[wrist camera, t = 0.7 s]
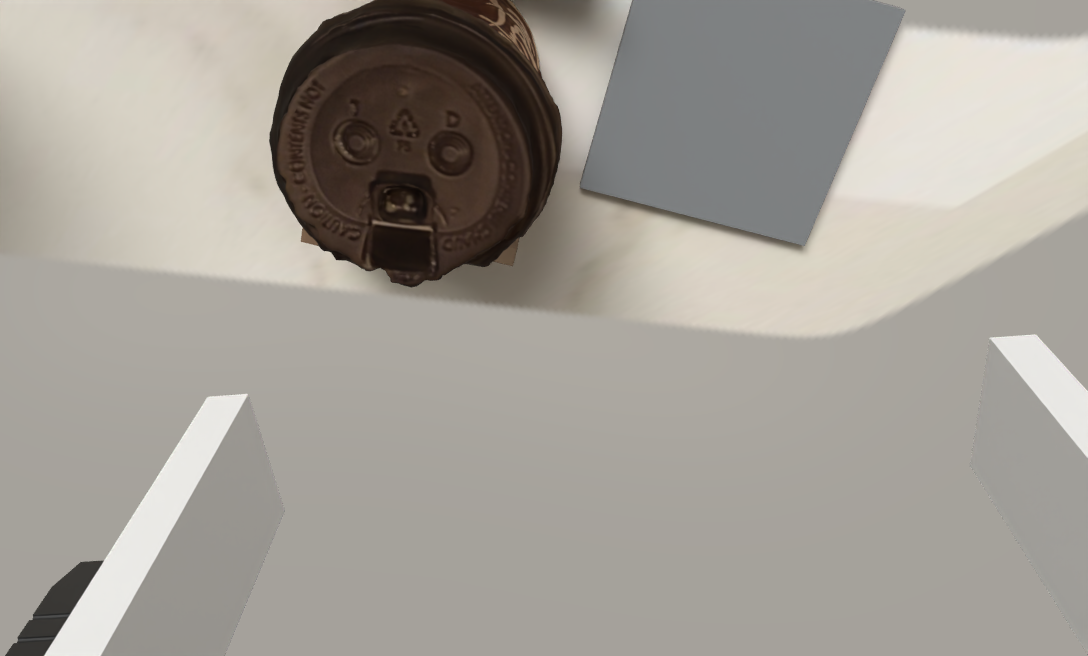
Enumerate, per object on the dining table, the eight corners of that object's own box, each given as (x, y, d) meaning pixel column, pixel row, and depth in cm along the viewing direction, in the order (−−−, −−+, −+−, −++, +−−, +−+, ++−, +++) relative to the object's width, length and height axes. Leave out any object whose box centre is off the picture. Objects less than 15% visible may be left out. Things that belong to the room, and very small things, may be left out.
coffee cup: (462, 206, 40) (408, 357, 28) (313, 68, 37) (186, 173, 26) (608, 63, 36) (614, 169, 25) (455, -99, 34) (383, -63, 22)
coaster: (580, 182, 39) (580, 187, 38) (650, -63, 34) (651, -61, 33) (801, 240, 39) (804, 245, 39) (901, 7, 35) (905, 10, 34)
